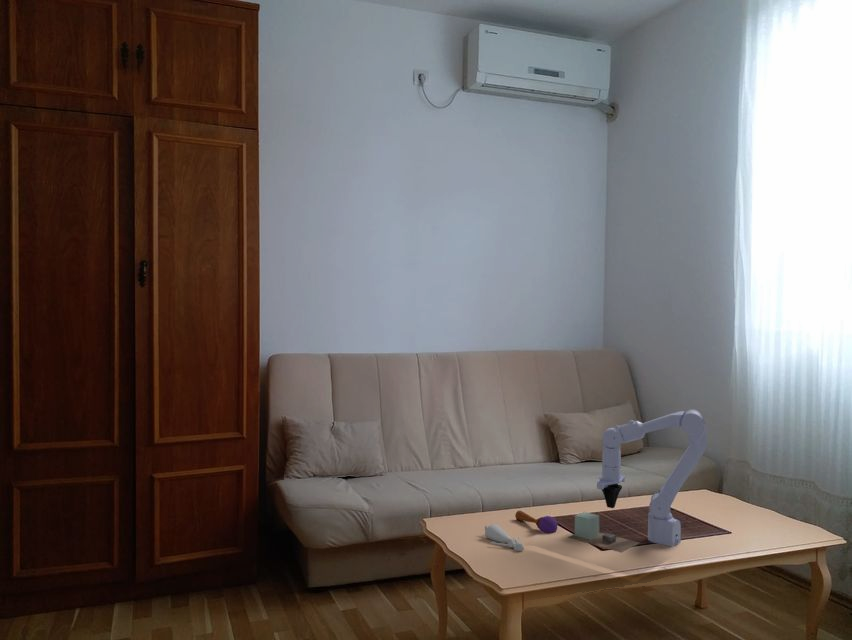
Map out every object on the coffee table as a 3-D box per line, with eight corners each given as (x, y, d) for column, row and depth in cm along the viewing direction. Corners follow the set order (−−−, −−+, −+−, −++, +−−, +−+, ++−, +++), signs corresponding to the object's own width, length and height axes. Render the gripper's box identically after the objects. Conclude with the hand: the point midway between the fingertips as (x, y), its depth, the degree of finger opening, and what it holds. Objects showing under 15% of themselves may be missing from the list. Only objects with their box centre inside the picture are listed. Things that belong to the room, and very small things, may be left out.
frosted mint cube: (599, 535, 226) (599, 515, 226) (589, 539, 222) (590, 519, 222) (583, 531, 230) (584, 511, 230) (574, 535, 226) (574, 515, 226)
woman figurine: (502, 519, 232) (537, 538, 217) (502, 532, 233) (536, 552, 217) (473, 524, 226) (507, 545, 211) (473, 537, 227) (506, 559, 211)
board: (640, 546, 220) (640, 527, 219) (621, 556, 211) (621, 535, 211) (587, 532, 233) (587, 513, 233) (567, 540, 224) (567, 521, 224)
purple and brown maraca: (527, 507, 248) (562, 518, 230) (525, 524, 247) (559, 537, 229) (513, 506, 246) (547, 517, 227) (511, 523, 245) (544, 536, 227)
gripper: (611, 460, 235) (611, 500, 236) (588, 467, 225) (588, 509, 225) (631, 463, 230) (630, 504, 231) (608, 470, 220) (607, 513, 220)
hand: (610, 507), depth 228 cm, fingers closed
